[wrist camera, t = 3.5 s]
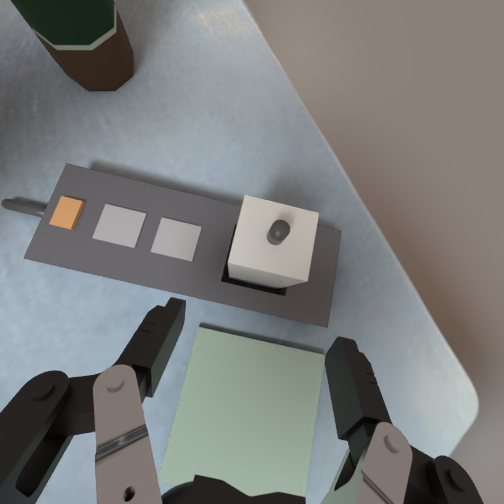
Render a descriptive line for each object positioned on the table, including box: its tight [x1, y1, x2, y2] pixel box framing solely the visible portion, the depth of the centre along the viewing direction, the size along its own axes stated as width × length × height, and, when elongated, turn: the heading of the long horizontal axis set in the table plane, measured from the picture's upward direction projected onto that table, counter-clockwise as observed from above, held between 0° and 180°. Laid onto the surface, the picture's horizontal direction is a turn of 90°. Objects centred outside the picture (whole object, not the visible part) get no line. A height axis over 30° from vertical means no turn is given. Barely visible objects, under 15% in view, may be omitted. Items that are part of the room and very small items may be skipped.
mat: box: [158, 326, 325, 497], centre depth 20 cm, size 12×12×1 cm
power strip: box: [1, 163, 341, 328], centre depth 21 cm, size 32×9×3 cm, turn 77°
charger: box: [228, 195, 319, 289], centre depth 17 cm, size 5×4×12 cm
